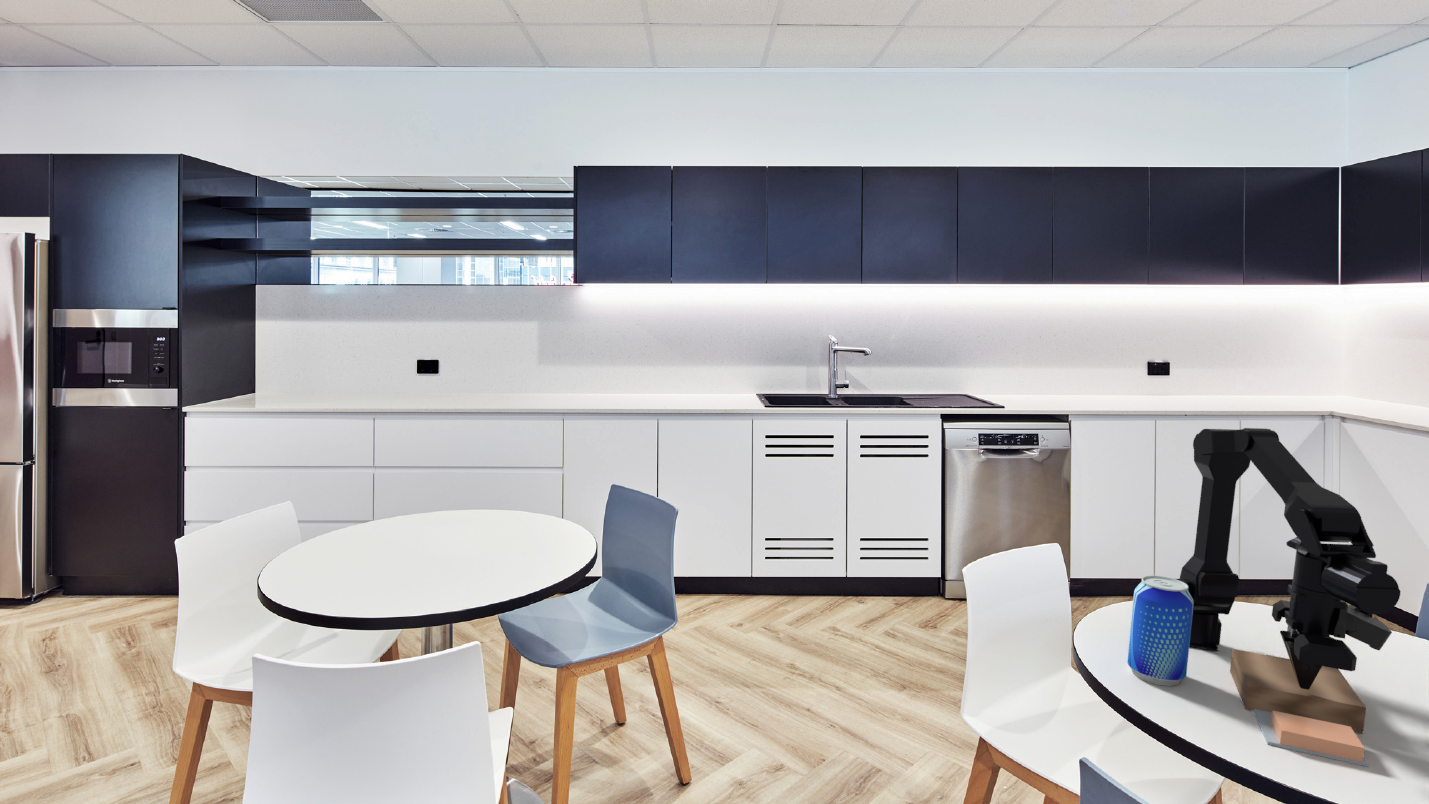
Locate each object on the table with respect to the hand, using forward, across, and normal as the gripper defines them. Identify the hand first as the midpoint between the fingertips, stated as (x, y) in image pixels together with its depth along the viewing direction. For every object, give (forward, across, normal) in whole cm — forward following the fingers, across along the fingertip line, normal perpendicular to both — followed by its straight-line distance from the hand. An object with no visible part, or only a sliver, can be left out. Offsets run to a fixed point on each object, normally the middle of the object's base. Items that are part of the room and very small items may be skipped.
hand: (1303, 688), depth 112 cm
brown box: (+5, +6, 0) cm, 8 cm away
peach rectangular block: (+2, -8, 0) cm, 8 cm away
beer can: (+5, +5, +18) cm, 20 cm away
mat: (+5, -6, 0) cm, 8 cm away
